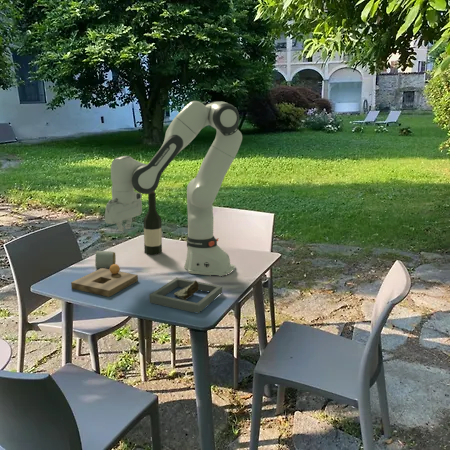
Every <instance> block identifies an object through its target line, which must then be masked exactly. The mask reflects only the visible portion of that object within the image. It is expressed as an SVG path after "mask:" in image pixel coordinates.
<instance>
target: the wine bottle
mask: <svg viewBox="0 0 450 450" xmlns="http://www.w3.org/2000/svg"><path fill="white" fill-rule="evenodd" d="M147 196H148V198H147V199H148V200H147V201H148V203H147V204H148V211H147V213H146V214H145V216H144V218H143V234H144V235H143V241H144V243H143V244H144V246H143V247H144V249H143V250H144V254H146V255H147V256H148V255H149V256H156V255H160V254H162V253H163V245H162V244H163V238H162V237H163V235H162V218H161V215H159V213H158V211H157V205H156V204H157V202H156V201H157V200H156V197H157V196H156V192H155V191H153V192H152V193H149V194H147Z"/></svg>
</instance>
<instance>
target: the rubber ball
mask: <svg viewBox="0 0 450 450" xmlns="http://www.w3.org/2000/svg"><path fill="white" fill-rule="evenodd" d="M109 269H110V272H111V273H112V274H117V273H118V272H119V271H120V269H121V267H120V265H118V264H116V263H115V264H113V265H111V266H110V268H109Z"/></svg>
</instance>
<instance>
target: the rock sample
mask: <svg viewBox="0 0 450 450" xmlns="http://www.w3.org/2000/svg"><path fill="white" fill-rule="evenodd" d="M193 281H194V282H193V284H191V285H190V286H188V287H185V288H180V289H179V290H177V291H175V292H174V293H173V296H174V297H178V299H181V300H185V301H187V299H189V298H191V297H193V295H195V293H197V292H198V289H199V288H198V287H199V285H198V283H197V282H198V281H197V280H193Z"/></svg>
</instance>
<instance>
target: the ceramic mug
mask: <svg viewBox="0 0 450 450" xmlns="http://www.w3.org/2000/svg"><path fill="white" fill-rule="evenodd" d="M116 256H117V255H116V252H115V251H110V250H109V251H105V250H96V252H95V260H94V262H95V269H96V270H99V269H101V268H105V269H110V266H111V265H113V264H116V262H117V261H116Z"/></svg>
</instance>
